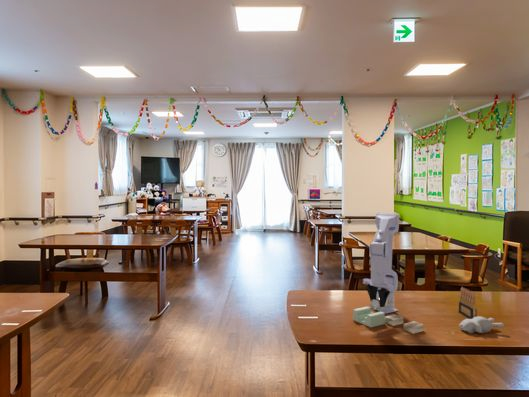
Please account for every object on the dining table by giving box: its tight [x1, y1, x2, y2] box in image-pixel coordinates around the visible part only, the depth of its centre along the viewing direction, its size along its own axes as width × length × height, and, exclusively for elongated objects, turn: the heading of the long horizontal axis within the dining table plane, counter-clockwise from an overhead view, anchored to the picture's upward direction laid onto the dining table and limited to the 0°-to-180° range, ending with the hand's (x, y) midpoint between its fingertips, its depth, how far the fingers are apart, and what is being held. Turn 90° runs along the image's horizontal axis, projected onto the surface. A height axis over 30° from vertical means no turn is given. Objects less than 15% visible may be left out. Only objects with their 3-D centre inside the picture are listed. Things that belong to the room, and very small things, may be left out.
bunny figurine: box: [458, 315, 505, 334], centre depth 152 cm, size 10×5×15 cm
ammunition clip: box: [458, 286, 478, 319], centre depth 168 cm, size 11×2×12 cm, turn 3°
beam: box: [385, 314, 424, 335], centre depth 156 cm, size 14×6×2 cm, turn 31°
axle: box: [369, 297, 393, 311], centre depth 158 cm, size 4×9×4 cm, turn 122°
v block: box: [352, 306, 386, 328], centre depth 161 cm, size 10×8×4 cm
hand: (377, 305), depth 157 cm, fingers closed on axle, 4 cm apart
